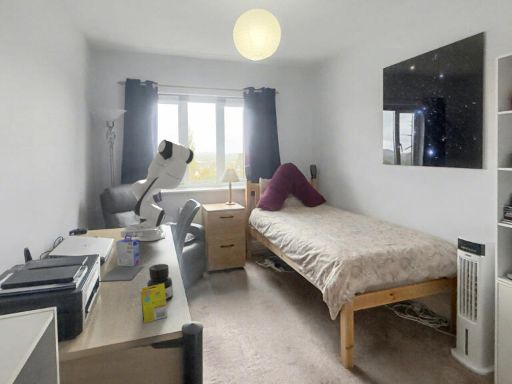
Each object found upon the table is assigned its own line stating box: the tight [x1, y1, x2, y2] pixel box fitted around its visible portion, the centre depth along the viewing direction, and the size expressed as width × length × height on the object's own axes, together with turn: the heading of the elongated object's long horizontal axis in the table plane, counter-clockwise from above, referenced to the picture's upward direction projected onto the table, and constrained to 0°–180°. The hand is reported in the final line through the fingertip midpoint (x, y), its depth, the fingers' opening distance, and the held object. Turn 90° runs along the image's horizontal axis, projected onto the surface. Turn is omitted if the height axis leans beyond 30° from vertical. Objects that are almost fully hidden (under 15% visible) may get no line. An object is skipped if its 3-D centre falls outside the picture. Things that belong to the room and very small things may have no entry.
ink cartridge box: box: [115, 235, 141, 267], centre depth 155 cm, size 10×6×14 cm, turn 78°
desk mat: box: [100, 265, 144, 283], centre depth 143 cm, size 17×14×1 cm
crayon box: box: [140, 283, 168, 324], centre depth 102 cm, size 7×3×12 cm, turn 119°
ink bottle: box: [146, 263, 174, 302], centre depth 116 cm, size 10×9×12 cm
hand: (135, 235), depth 166 cm, fingers closed
